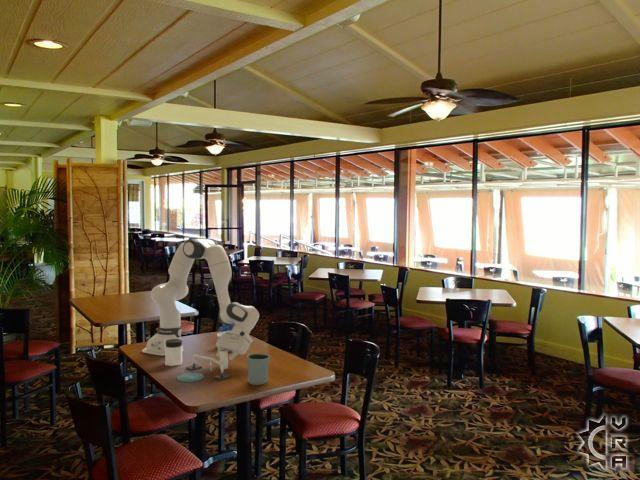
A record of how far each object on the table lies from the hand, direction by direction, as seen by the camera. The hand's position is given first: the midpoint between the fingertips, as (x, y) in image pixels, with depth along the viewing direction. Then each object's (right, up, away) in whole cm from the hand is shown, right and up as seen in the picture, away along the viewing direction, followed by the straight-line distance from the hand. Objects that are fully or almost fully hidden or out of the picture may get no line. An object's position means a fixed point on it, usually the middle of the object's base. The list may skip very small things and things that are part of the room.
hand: (223, 357), depth 251 cm
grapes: (-9, -3, +58) cm, 59 cm away
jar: (-27, -5, +7) cm, 29 cm away
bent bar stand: (-6, -6, -7) cm, 11 cm away
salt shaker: (0, -5, 0) cm, 6 cm away
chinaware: (-4, -4, +41) cm, 41 cm away
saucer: (-13, -6, -15) cm, 21 cm away
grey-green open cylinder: (+20, -7, -19) cm, 28 cm away
